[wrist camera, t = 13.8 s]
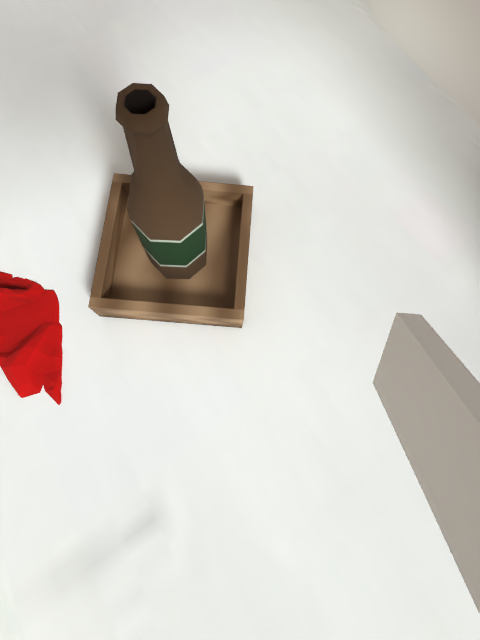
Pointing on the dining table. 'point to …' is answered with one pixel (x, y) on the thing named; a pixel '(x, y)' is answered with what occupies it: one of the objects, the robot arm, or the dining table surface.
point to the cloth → (30, 337)
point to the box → (175, 294)
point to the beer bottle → (161, 186)
